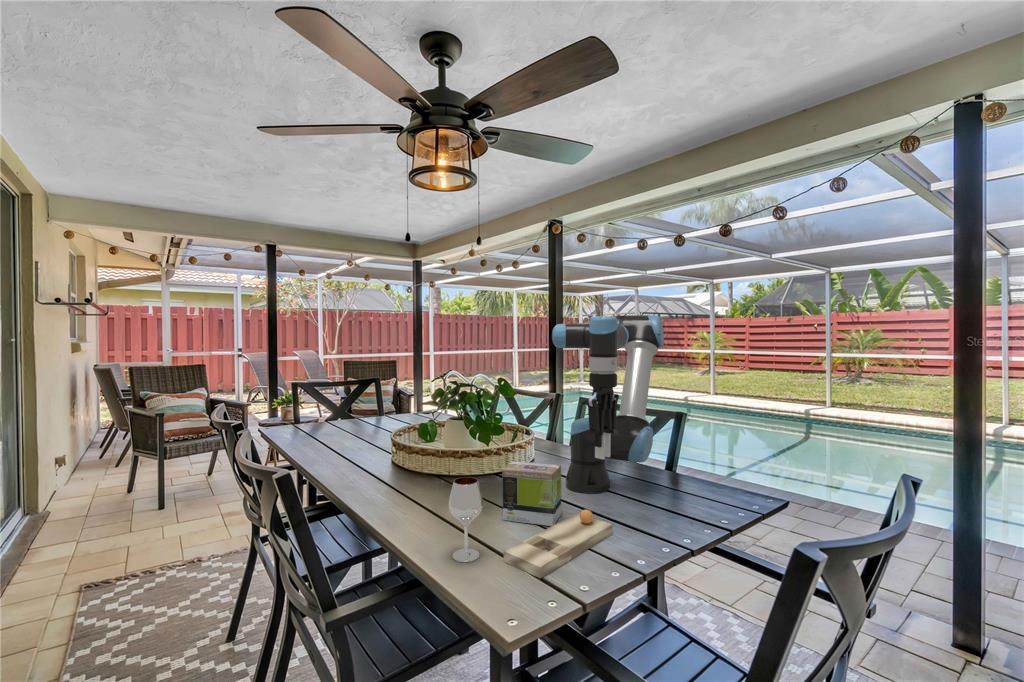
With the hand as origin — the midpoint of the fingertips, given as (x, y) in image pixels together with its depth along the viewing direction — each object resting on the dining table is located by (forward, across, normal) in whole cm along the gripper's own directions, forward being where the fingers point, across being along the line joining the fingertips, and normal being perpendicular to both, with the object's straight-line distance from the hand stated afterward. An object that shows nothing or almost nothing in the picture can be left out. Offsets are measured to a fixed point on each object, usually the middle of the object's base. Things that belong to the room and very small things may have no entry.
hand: (602, 457), depth 130 cm
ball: (+14, -8, 0) cm, 16 cm away
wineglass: (+19, -38, +14) cm, 45 cm away
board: (+18, -19, 0) cm, 27 cm away
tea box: (+19, -10, +17) cm, 27 cm away
